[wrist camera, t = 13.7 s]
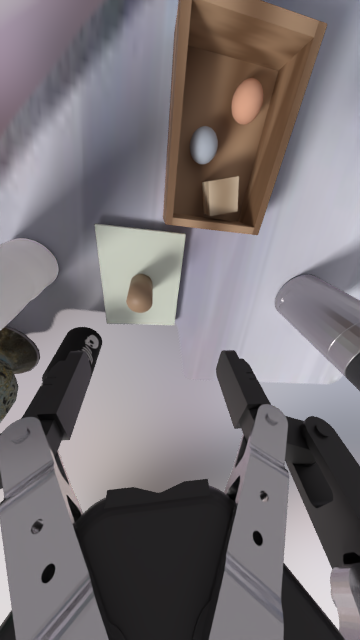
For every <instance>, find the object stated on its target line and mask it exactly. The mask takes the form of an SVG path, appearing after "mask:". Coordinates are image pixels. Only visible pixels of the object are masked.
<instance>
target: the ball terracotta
mask: <svg viewBox="0 0 360 640" xmlns="http://www.w3.org/2000/svg"><path fill="white" fill-rule="evenodd" d="M262 103H263V88H262V85H261V83H260V82H259V81H258V80H257V79H254V78H249V79H246V80H244V81H243V82H242V83H241V84H240V85H239V86H238V88H237V89H236V91H235V93H234V96H233V99H232V106H231V108H232V115H233V118H234V119H235V121H236V122H237V123H239V124H243V125H244V124H248V123H250V122H252V121H253V120H254V119H255V118H256V116H257V115H258V113H259V112H260V109H261V107H262Z"/></svg>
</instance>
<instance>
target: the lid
mask: <svg viewBox="0 0 360 640" xmlns="http://www.w3.org/2000/svg"><path fill="white" fill-rule="evenodd" d="M95 233H96V241H97V249H98V256H99V264H100V272H101V280H102V288H103V296H104V304H105V312H106V320H107V323H109V324H146V325H174V322H175V314H176V307H177V299H178V291H179V283H180V275H181V267H182V259H183V251H184V244H185V236H186V234H185V233H177V232H168V231H159V230H149V229H140V228H131V227H122V226H113V225H104V224H95Z"/></svg>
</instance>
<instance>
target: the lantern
mask: <svg viewBox="0 0 360 640" xmlns="http://www.w3.org/2000/svg"><path fill="white" fill-rule="evenodd" d="M39 359H40V354H39V350H38V348H37V346H36V345H35V343H34V342H33V341H32V340H31V339H29V338H28V337H27V336H26V335H24V334H23V333H21V332H19V331H17V330H15V329H13V328H10V327H6V326H5V327H4V328H3V329H2V330H0V422H1V421H2V420H3V419H4V417H5V416H6V414H7V413H8V411H9V410H10V408H11V407H12V405H13V403H14V402H15V401H16V397H17V391H18V384H17V381H16V378H15V375H14V374H19V373H24V372H27V371H31V370H32V369H33V368H34V367H35V366H36V365H37V364H38V361H39Z"/></svg>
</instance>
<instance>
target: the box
mask: <svg viewBox="0 0 360 640" xmlns="http://www.w3.org/2000/svg"><path fill="white" fill-rule="evenodd" d="M326 27H327V23H324V22H321V21H318V20H315V19H313V18H310V17H307V16H304V15H301V14H298V13H295V12H293V11H290V10H287V9H284V8H281V7H278V6H275V5H273V4H270V3H267V2H264V1H261V0H179V4H178V11H177V18H176V25H175V32H174V49H173V65H172V81H171V97H170V114H169V130H168V146H167V162H166V179H165V195H164V211H163V219H164V222H165V224H167V225H175V226H184V227H192V228H201V229H209V230H218V231H227V232H235V233H244V234H252V235H258V233H259V230H260V227H261V224H262V221H263V218H264V215H265V212H266V209H267V206H268V203H269V200H270V197H271V194H272V191H273V188H274V184H275V181H276V178H277V175H278V172H279V169H280V166H281V163H282V160H283V157H284V154H285V151H286V148H287V145H288V142H289V139H290V136H291V133H292V130H293V127H294V124H295V121H296V118H297V115H298V112H299V109H300V106H301V103H302V100H303V97H304V94H305V91H306V88H307V85H308V82H309V79H310V76H311V73H312V70H313V67H314V64H315V60H316V57H317V54H318V51H319V48H320V45H321V42H322V39H323V36H324V33H325V30H326ZM249 78H254V79H257V80H258V81H259V82H260V83H261V85H262V88H263V103H262V107H261V109H260V112H259V113H258V115H257V116H256V118H255V119H254V120H253V121H252V122H250V123H248V124H244V125H243V124H239V123H237V122H236V121H235V119H234V118H233V115H232V108H231V106H232V99H233V96H234V93H235V91H236V89H237V88H238V86H239V85H240V84H241V83H242V82H243V81H244V80H246V79H249ZM202 126H208V127H210V128H212V129H213V130H214V132H215V133H216V136H217V140H218V147H217V152H216V154H215V156H214V158H213V159H212V160H211V161H210V162H209V163H207V164H199V163H197V162H195V161H194V159H193V158H192V156H191V153H190V140H191V137H192V135H193V133H194V132H195V131H196V130H197V129H198V128H200V127H202ZM237 176H239V186H238V211H237V212H231V213H225V214H220V215H214V216H209V215H206V214H204V209H203V191H202V182H207V181H213V180H218V179H224V178H230V177H237Z"/></svg>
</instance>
